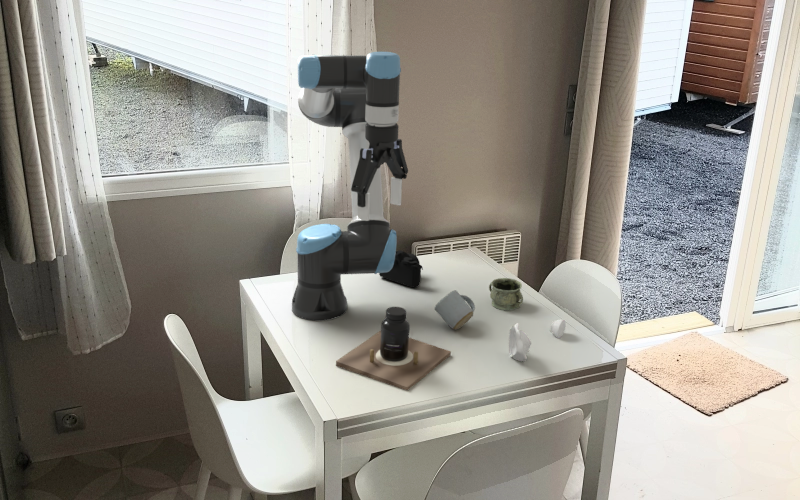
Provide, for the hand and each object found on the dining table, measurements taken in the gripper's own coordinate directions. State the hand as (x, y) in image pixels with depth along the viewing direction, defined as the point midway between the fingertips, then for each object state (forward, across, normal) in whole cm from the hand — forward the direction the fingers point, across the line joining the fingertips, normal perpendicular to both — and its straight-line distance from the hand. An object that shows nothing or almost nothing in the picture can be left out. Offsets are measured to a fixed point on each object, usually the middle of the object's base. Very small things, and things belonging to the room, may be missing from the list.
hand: (380, 211), depth 184 cm
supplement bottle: (+33, -6, -9) cm, 35 cm away
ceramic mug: (+35, +20, -12) cm, 42 cm away
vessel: (+35, +39, -17) cm, 55 cm away
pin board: (+35, -6, -9) cm, 36 cm away
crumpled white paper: (+35, +12, -34) cm, 50 cm away
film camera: (+35, +38, +16) cm, 54 cm away
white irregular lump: (+35, +29, -36) cm, 58 cm away
